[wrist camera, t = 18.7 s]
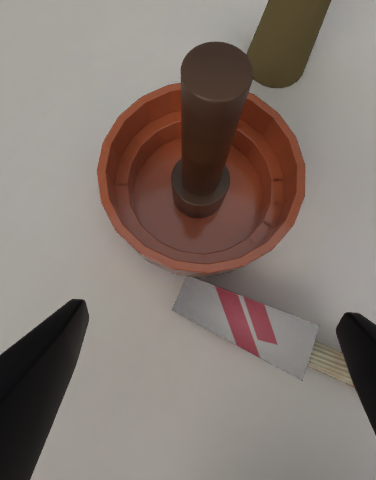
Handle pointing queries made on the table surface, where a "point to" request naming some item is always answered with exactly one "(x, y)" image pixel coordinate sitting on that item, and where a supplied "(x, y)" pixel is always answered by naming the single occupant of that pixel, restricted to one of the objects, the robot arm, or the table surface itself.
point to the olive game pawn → (285, 40)
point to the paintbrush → (260, 330)
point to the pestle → (209, 124)
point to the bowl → (234, 204)
